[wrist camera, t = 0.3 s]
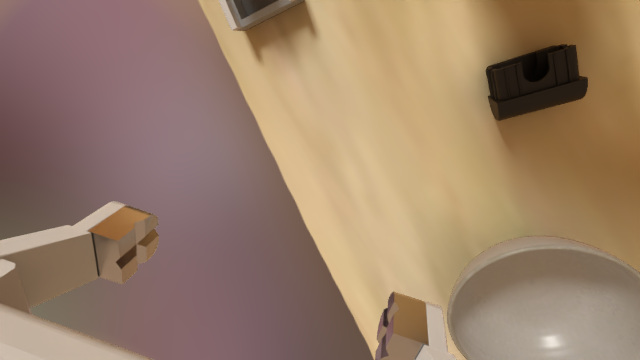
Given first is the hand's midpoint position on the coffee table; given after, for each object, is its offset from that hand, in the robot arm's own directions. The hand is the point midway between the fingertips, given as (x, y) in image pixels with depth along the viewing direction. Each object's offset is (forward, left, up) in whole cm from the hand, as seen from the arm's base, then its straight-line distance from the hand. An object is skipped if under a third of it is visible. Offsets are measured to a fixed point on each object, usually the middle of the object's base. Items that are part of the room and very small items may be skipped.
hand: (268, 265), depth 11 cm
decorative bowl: (+24, +33, -47) cm, 62 cm away
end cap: (-6, +19, -47) cm, 51 cm away
